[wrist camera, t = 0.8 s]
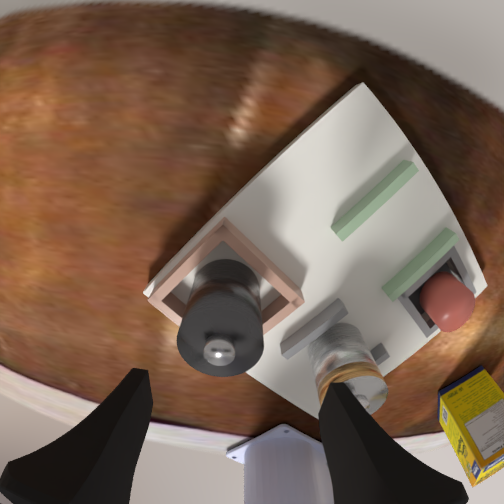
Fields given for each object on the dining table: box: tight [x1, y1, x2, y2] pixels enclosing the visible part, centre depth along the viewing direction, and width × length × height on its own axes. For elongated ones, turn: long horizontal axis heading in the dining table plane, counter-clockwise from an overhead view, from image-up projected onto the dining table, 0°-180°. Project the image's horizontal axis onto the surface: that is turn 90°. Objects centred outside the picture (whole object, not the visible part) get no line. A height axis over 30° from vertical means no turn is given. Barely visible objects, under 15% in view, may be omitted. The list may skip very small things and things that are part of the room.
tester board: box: [143, 82, 487, 419], centre depth 19 cm, size 18×18×3 cm
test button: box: [420, 271, 475, 332], centre depth 18 cm, size 3×3×3 cm
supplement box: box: [438, 365, 504, 487], centre depth 21 cm, size 6×6×11 cm
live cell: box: [308, 323, 388, 415], centre depth 18 cm, size 4×4×6 cm
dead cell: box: [177, 259, 264, 377], centre depth 16 cm, size 4×4×6 cm
